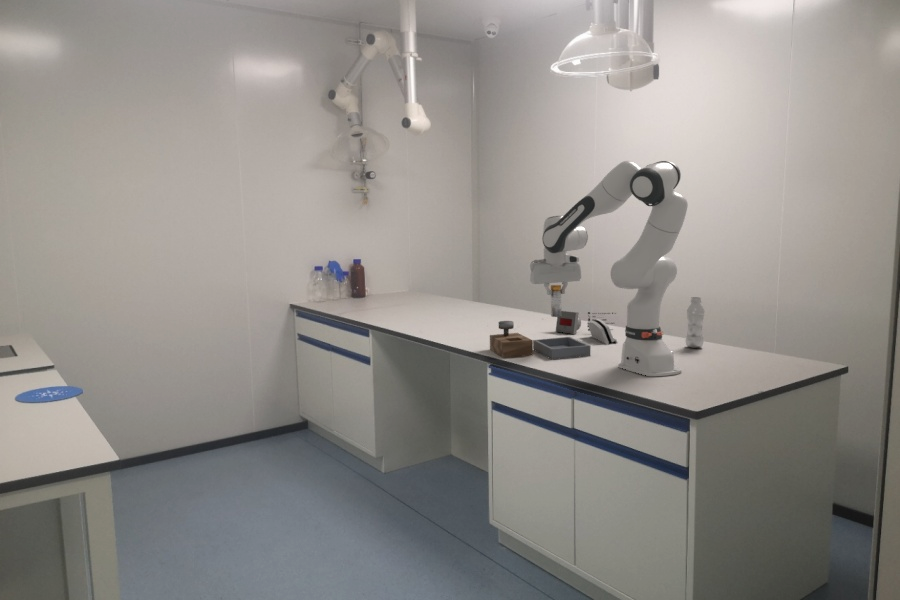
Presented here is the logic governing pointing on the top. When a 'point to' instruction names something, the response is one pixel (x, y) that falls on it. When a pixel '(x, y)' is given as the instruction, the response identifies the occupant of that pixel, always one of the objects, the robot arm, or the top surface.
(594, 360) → the top surface
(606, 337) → the black-striped white block
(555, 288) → the gold-capped glass vial
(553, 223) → the robot arm
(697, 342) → the plastic bottle
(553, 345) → the tray
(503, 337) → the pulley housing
